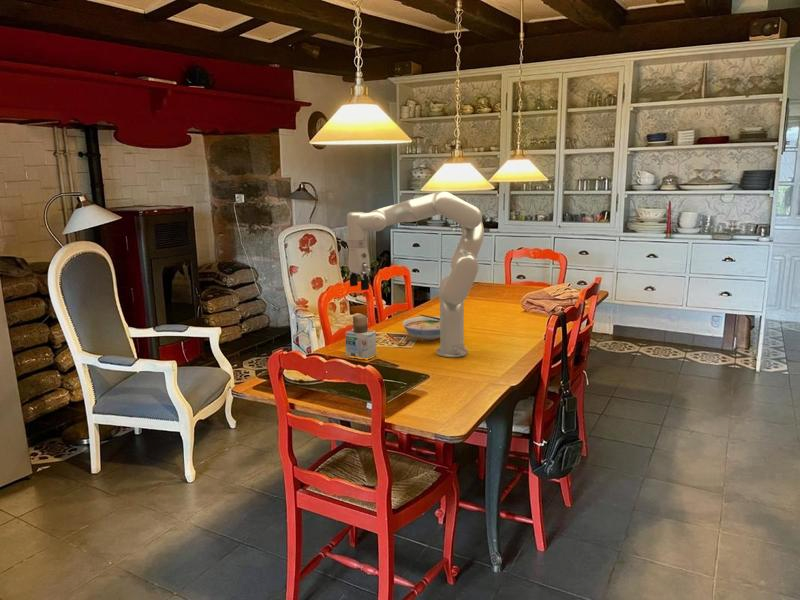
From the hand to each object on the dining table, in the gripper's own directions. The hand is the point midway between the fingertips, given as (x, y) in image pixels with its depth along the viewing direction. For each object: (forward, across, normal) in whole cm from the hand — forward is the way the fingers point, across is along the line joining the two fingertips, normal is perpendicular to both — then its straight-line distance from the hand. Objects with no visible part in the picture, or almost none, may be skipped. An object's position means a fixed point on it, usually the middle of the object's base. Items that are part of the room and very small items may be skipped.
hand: (359, 287), depth 232 cm
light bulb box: (+29, 0, 0) cm, 29 cm away
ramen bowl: (+29, +8, -37) cm, 47 cm away
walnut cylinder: (+18, 0, 0) cm, 18 cm away
